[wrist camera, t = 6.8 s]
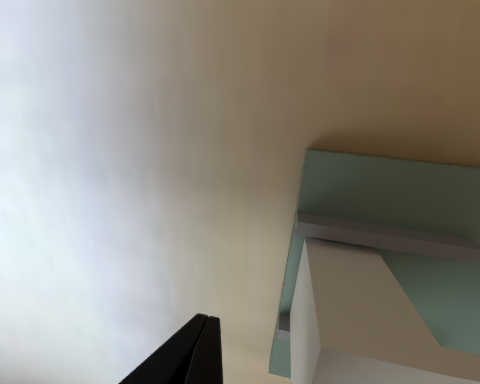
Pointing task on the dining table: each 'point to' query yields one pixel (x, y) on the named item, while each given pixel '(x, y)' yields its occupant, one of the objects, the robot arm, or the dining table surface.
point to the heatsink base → (395, 236)
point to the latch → (363, 325)
